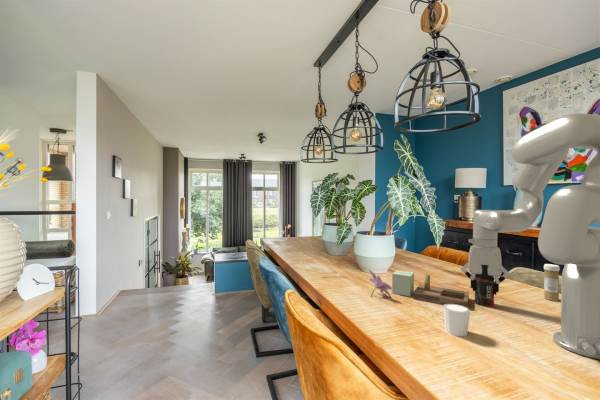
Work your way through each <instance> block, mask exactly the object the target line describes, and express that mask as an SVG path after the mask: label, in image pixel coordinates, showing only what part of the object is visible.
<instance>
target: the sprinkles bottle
mask: <svg viewBox="0 0 600 400" xmlns="http://www.w3.org/2000/svg"><path fill="white" fill-rule="evenodd" d="M560 269H561V268H560V265H559V264H554V263H553V264H551V263H544V265H543V270H544V273H543V274H544V277H543V281H544V282H543V298H544V299H545V300H548V301H554V302H558V301H560Z"/></svg>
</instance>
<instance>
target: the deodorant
mask: <svg viewBox="0 0 600 400" xmlns="http://www.w3.org/2000/svg"><path fill="white" fill-rule="evenodd" d="M481 266H482V267H481V268H482V274H476V275H475V277H474V278H475V291H474V303H475V304H476V305H478V306H481V307H486V308H493V307H494V306H495V294H494V282H495V279H494V277H493V276H490V275H488V265H482V264H481Z"/></svg>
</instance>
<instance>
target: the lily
mask: <svg viewBox="0 0 600 400" xmlns="http://www.w3.org/2000/svg"><path fill="white" fill-rule="evenodd" d="M367 271H368V272H369V273H370V274H371V277H372V278H369V281H370V282H372V283H373V284H374V289H373V290H372V293H371V295H370V298H372V297H373V294H374V292H375V290H376V289H377V290H378V289H379V291H380V293H386V295H387V296H389V297H391V294H390V293H389V291H388V290H392V289H393V288H392V285H390V284H388V283H386V282H385V281H382V278H381V277H380V276H379V275H376V273H374V272H373V270H371V269H368V270H367Z"/></svg>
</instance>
